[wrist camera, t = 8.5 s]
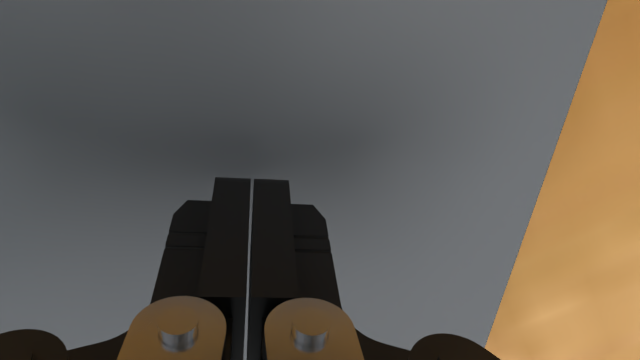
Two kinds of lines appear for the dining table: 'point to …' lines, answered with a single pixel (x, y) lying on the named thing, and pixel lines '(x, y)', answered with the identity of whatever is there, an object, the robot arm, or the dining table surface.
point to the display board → (280, 145)
